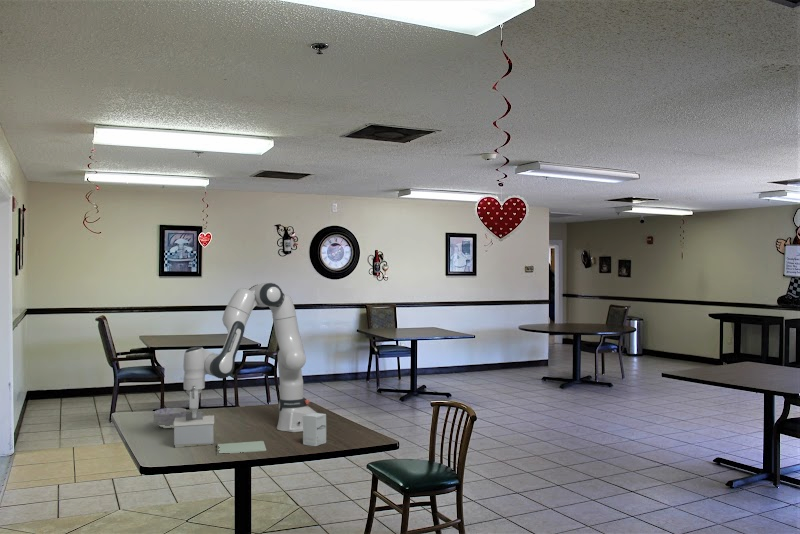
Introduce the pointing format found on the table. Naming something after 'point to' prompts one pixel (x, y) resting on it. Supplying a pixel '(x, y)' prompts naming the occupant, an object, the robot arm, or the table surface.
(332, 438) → the table surface
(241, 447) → the mat
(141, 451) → the table surface
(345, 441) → the table surface
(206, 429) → the storage box
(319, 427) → the supplement box
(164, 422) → the paper bowls
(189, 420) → the lid
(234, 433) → the table surface
